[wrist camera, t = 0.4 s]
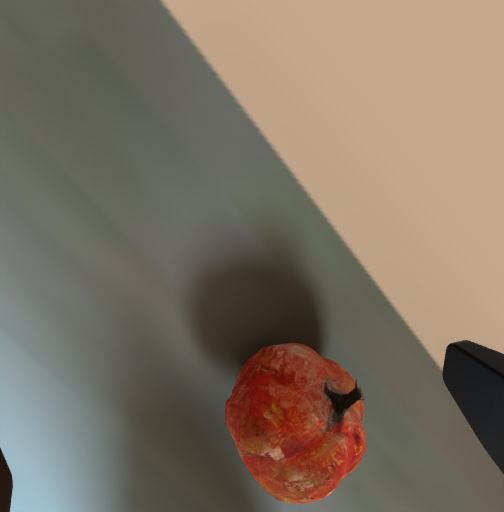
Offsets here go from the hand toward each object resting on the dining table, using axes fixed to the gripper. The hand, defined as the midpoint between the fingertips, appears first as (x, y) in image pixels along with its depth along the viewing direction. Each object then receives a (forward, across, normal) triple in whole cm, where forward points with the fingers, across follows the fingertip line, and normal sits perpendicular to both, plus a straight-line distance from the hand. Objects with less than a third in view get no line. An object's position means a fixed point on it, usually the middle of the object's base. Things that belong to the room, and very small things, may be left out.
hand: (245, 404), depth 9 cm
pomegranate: (+13, -4, +12) cm, 18 cm away
